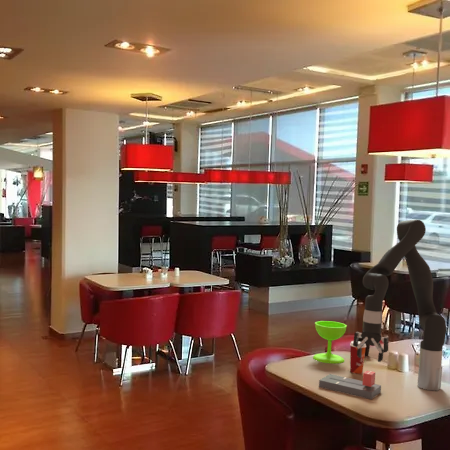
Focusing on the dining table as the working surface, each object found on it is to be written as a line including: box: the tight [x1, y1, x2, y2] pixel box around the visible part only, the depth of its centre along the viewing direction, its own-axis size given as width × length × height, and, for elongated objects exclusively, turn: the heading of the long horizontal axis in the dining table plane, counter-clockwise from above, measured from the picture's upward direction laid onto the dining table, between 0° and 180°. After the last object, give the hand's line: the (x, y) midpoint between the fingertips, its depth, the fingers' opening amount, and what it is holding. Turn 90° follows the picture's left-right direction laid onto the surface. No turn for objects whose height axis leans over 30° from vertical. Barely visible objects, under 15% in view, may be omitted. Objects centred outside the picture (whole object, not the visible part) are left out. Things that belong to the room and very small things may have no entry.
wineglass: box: [312, 320, 348, 364], centre depth 285 cm, size 16×16×18 cm
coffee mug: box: [358, 336, 371, 358], centre depth 296 cm, size 12×9×10 cm
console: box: [318, 373, 382, 400], centre depth 237 cm, size 23×12×3 cm, turn 57°
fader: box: [362, 370, 376, 387], centre depth 233 cm, size 4×5×6 cm
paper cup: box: [349, 340, 366, 375], centre depth 264 cm, size 8×8×14 cm
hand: (369, 359), depth 233 cm, fingers open, 8 cm apart
